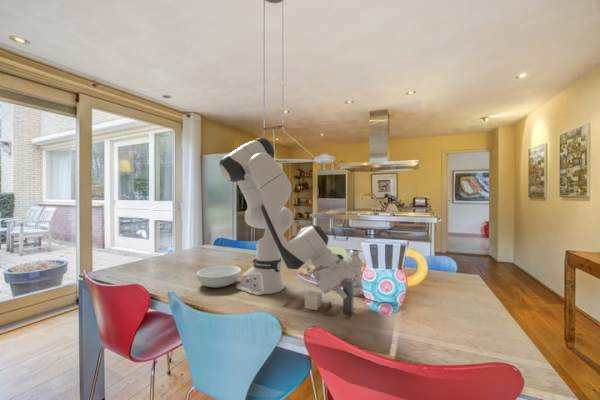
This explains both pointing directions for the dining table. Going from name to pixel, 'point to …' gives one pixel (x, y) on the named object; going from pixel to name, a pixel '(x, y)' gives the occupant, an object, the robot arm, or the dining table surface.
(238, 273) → the serving bowl
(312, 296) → the cream cube
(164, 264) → the dining table surface
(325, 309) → the walnut strip
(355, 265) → the plastic bottle
